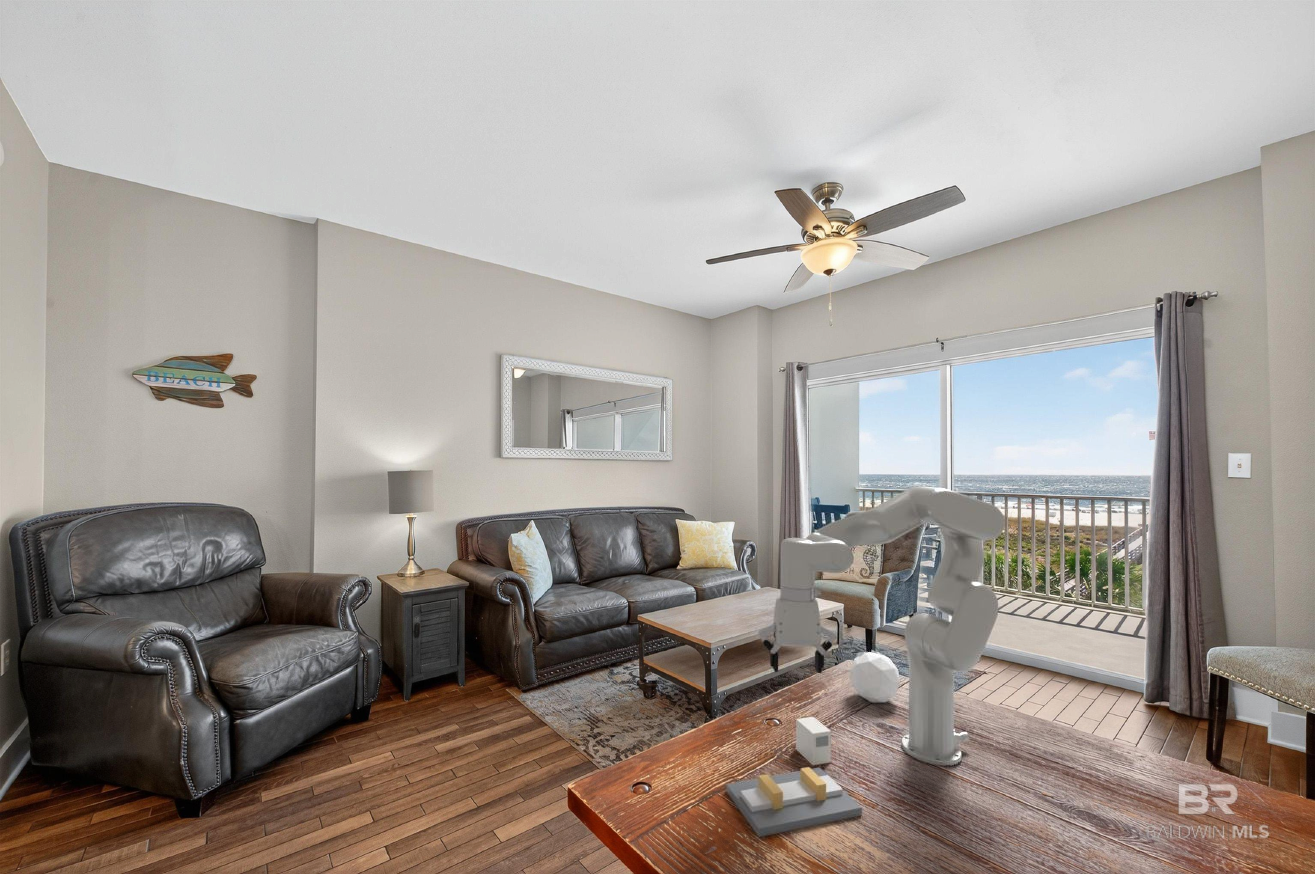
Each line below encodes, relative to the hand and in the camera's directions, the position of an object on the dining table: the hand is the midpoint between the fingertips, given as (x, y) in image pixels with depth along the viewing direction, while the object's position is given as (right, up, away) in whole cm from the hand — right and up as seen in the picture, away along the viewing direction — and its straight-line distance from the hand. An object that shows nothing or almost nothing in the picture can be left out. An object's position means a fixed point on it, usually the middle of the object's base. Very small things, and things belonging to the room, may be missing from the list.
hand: (796, 670), depth 123 cm
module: (+4, -21, +3) cm, 22 cm away
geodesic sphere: (+31, -23, +33) cm, 50 cm away
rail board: (-5, -20, -15) cm, 25 cm away
